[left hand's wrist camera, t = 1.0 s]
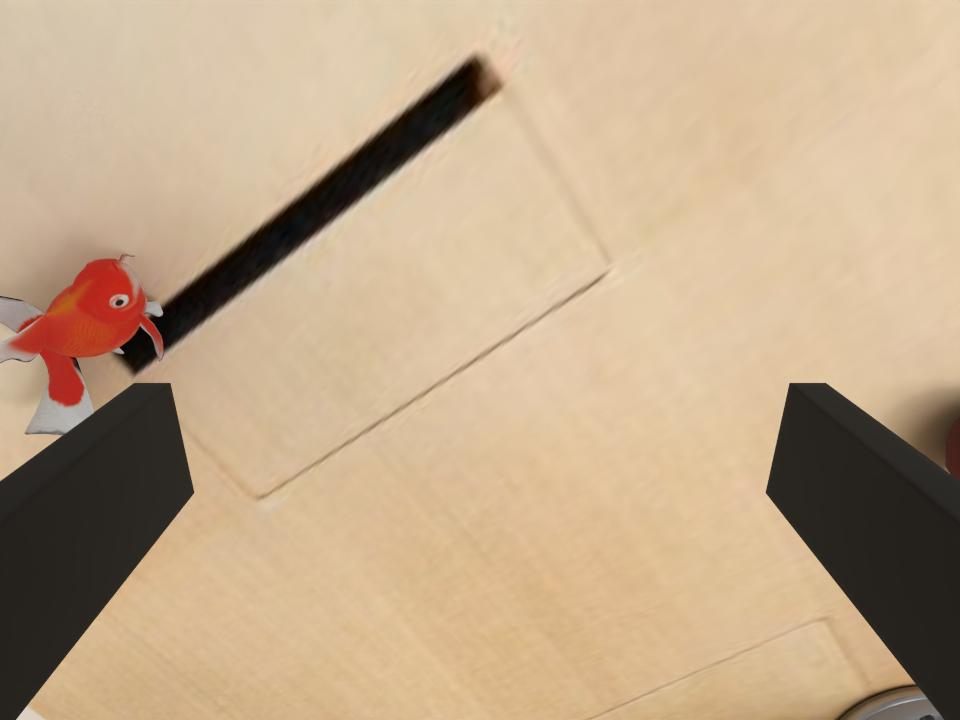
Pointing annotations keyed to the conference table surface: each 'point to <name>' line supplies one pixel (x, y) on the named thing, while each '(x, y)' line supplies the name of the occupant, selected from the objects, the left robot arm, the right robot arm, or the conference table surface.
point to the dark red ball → (953, 451)
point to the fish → (77, 336)
